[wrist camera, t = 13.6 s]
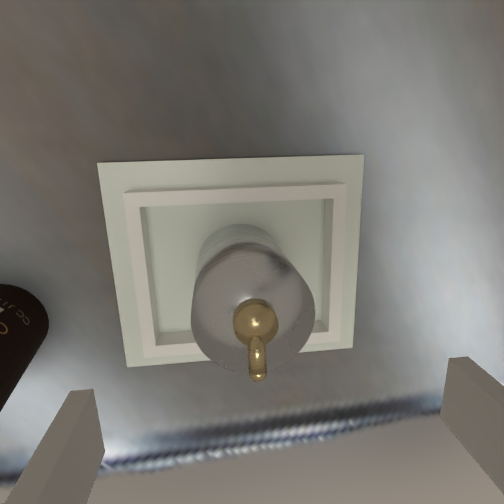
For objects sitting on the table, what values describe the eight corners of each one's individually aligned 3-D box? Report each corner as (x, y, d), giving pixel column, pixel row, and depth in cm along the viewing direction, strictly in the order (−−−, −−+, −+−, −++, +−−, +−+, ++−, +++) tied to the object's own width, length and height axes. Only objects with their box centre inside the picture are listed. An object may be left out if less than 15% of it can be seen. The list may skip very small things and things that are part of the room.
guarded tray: (360, 154, 28) (375, 154, 25) (349, 343, 33) (361, 360, 30) (100, 162, 26) (87, 164, 23) (129, 362, 31) (121, 382, 28)
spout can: (282, 221, 28) (326, 263, 17) (282, 302, 30) (322, 385, 19) (194, 225, 27) (183, 272, 17) (199, 308, 29) (193, 398, 19)
